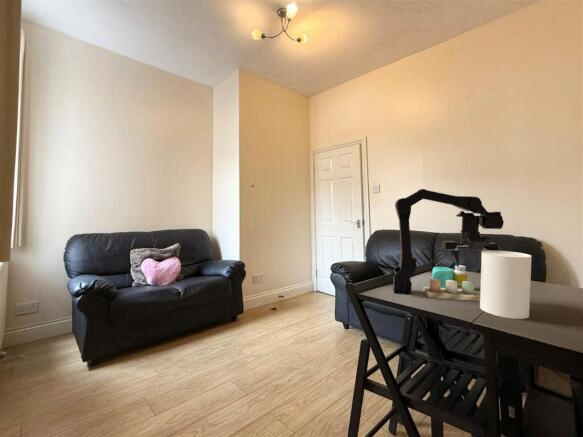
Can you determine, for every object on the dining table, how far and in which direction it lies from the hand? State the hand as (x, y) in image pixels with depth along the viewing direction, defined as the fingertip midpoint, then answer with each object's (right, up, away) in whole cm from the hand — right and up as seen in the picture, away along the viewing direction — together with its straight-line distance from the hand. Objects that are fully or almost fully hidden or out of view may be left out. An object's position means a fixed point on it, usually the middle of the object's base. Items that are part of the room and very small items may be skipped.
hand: (468, 267), depth 111 cm
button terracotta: (-12, -10, +3) cm, 16 cm away
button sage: (0, -10, 0) cm, 10 cm away
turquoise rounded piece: (-2, -12, +16) cm, 19 cm away
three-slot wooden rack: (-6, -12, +2) cm, 13 cm away
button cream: (-6, -10, +2) cm, 12 cm away
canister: (+3, -13, -15) cm, 20 cm away
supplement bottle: (+4, -12, +13) cm, 18 cm away
